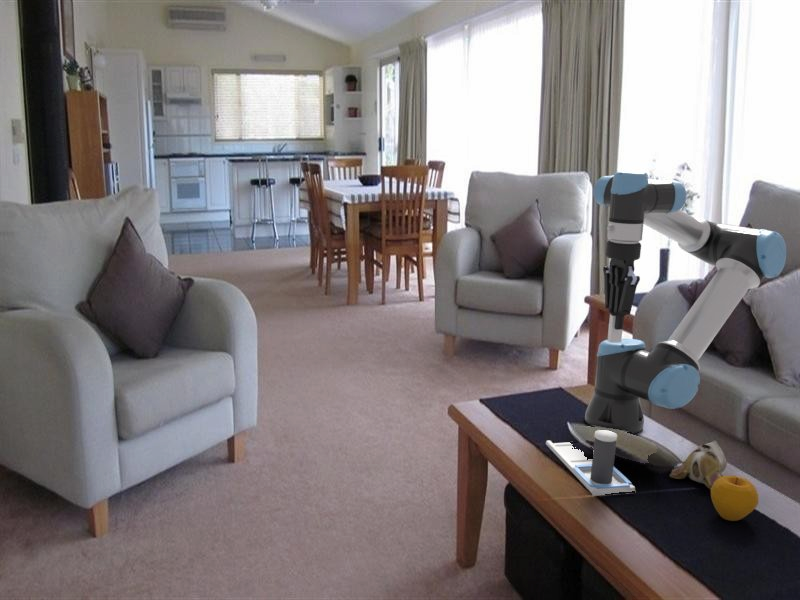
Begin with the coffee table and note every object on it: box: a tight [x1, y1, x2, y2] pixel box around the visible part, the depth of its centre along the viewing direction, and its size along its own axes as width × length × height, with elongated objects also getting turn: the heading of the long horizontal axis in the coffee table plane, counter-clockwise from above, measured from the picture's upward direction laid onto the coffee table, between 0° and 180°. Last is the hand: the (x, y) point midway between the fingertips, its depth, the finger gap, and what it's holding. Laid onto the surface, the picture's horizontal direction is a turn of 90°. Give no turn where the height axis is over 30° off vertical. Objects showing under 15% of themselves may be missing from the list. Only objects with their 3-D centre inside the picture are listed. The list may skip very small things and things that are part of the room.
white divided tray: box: [545, 440, 636, 497], centre depth 171 cm, size 10×26×2 cm, turn 12°
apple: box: [710, 475, 759, 522], centre depth 149 cm, size 9×9×9 cm
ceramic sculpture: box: [668, 440, 728, 490], centre depth 166 cm, size 11×9×15 cm
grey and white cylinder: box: [591, 429, 618, 484], centre depth 163 cm, size 5×5×11 cm
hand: (614, 341), depth 172 cm, fingers closed
